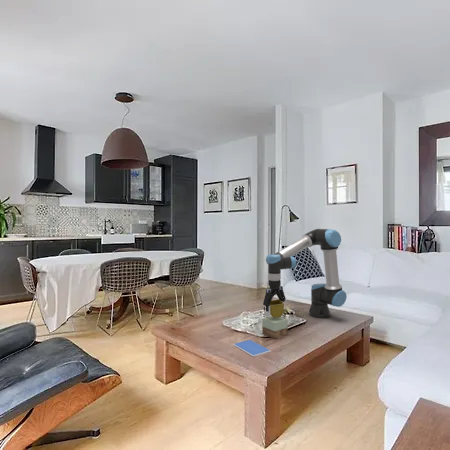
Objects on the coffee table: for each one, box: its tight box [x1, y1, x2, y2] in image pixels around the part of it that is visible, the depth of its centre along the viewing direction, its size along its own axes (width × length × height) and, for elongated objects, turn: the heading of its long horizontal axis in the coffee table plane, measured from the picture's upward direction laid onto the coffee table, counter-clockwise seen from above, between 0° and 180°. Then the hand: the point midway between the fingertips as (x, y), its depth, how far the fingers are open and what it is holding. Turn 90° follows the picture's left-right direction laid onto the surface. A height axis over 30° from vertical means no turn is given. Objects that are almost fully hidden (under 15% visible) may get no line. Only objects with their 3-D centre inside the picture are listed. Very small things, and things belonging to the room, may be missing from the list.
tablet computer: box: [233, 339, 271, 358], centre depth 182 cm, size 19×13×1 cm, turn 32°
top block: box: [261, 315, 288, 331], centre depth 202 cm, size 11×11×5 cm
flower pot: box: [269, 298, 285, 318], centre depth 203 cm, size 9×9×9 cm
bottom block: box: [261, 327, 288, 340], centre depth 202 cm, size 11×11×5 cm
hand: (274, 314), depth 202 cm, fingers open, 12 cm apart
